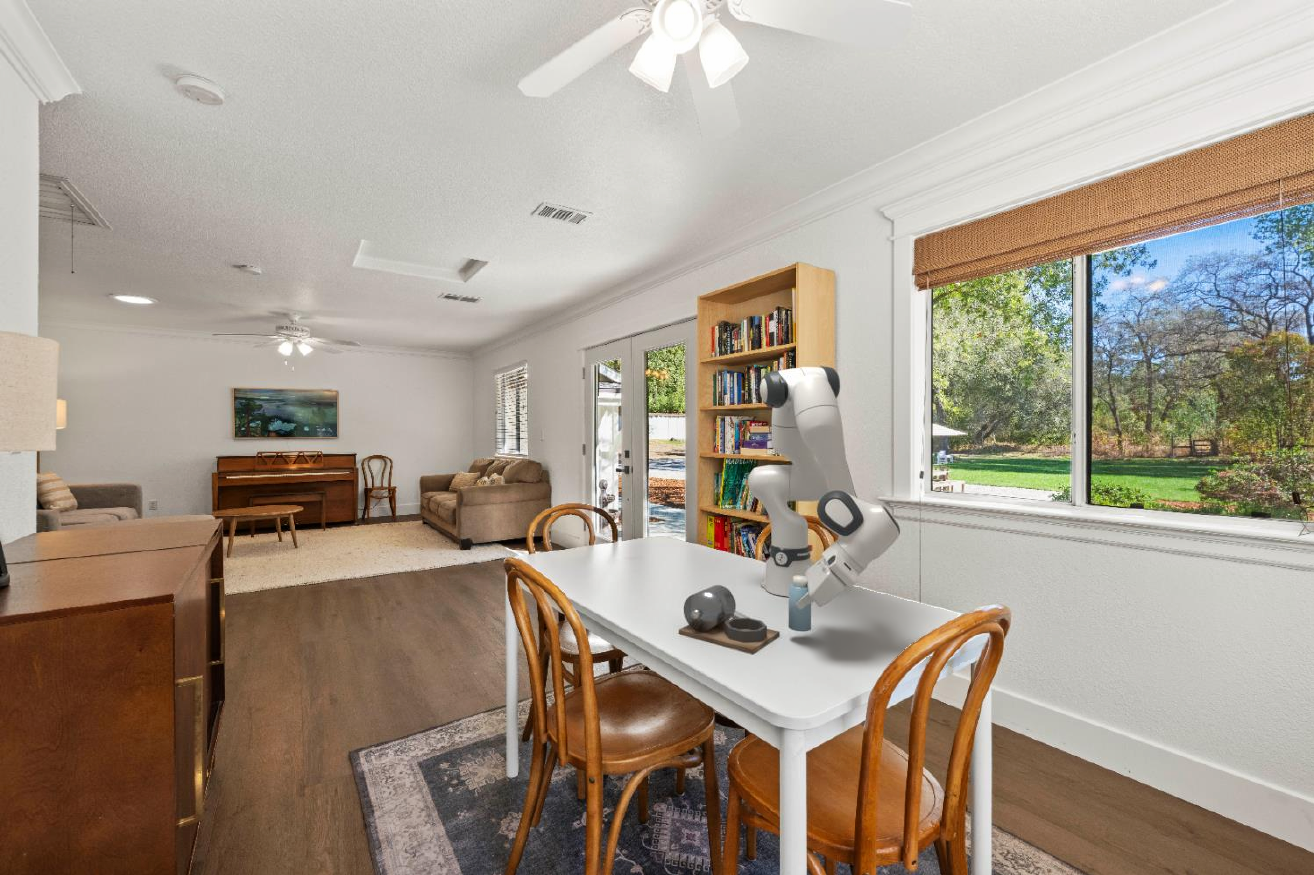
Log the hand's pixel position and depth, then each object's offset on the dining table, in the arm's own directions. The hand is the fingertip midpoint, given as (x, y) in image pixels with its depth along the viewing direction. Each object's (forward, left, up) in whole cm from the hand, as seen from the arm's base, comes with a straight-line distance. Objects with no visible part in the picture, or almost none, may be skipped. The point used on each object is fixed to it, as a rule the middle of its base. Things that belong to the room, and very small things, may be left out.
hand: (797, 601), depth 131 cm
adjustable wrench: (-6, -22, -10) cm, 25 cm away
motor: (+8, -20, -8) cm, 23 cm away
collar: (+7, -10, -9) cm, 15 cm away
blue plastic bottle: (0, +1, -6) cm, 6 cm away
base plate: (+7, -14, -9) cm, 18 cm away
